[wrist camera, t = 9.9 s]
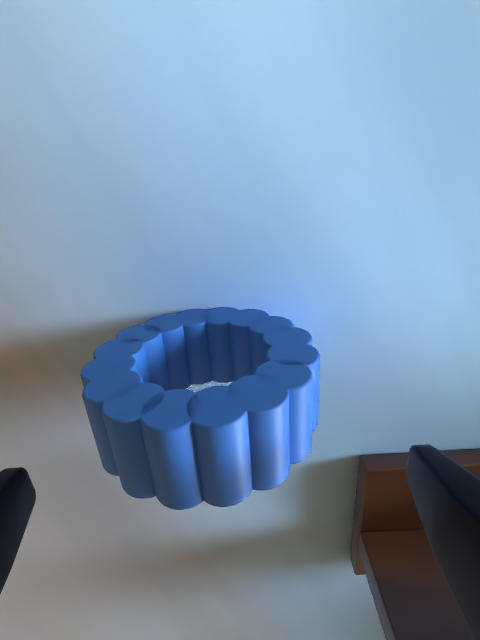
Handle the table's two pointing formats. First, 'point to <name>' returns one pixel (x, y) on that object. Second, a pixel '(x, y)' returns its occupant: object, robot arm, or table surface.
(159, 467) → the tape roll
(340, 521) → the table surface
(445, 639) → the hook
